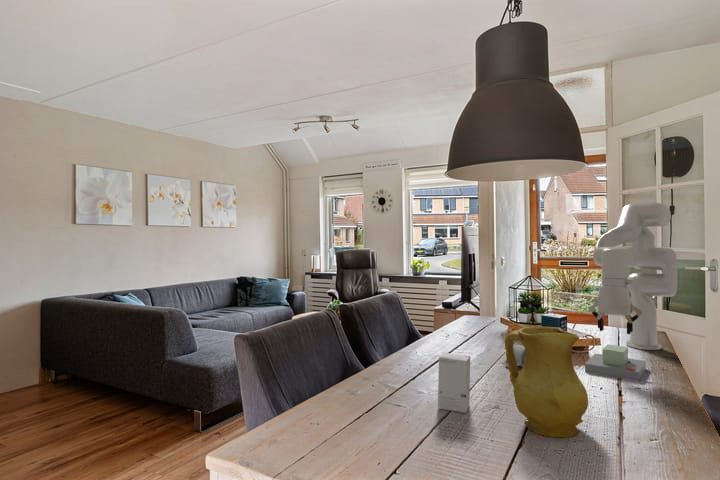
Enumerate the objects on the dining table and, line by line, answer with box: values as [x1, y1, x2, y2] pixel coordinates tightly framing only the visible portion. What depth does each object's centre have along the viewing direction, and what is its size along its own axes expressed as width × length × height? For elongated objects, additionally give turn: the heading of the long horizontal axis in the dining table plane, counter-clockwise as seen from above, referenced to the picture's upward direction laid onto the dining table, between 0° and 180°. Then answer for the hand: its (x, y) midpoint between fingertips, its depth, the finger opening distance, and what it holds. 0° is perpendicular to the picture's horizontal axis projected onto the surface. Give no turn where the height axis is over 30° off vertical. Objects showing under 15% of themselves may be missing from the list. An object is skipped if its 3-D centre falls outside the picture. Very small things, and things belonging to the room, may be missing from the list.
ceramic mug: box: [504, 344, 526, 369], centre depth 156 cm, size 11×8×8 cm
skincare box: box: [437, 352, 471, 414], centre depth 120 cm, size 8×6×15 cm
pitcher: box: [504, 325, 589, 438], centre depth 108 cm, size 17×19×25 cm
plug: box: [602, 344, 629, 367], centre depth 149 cm, size 8×7×8 cm
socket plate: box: [584, 353, 647, 382], centre depth 149 cm, size 16×16×4 cm
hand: (615, 331), depth 149 cm, fingers open, 7 cm apart
